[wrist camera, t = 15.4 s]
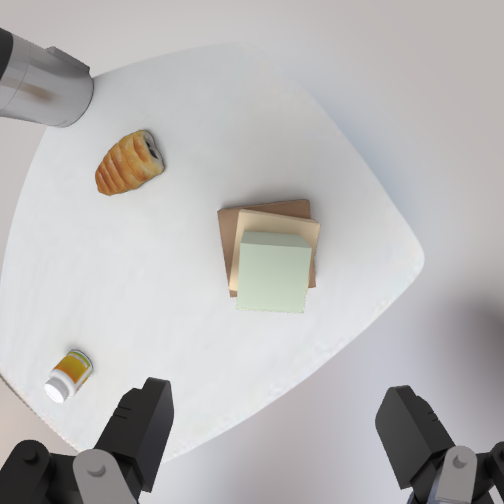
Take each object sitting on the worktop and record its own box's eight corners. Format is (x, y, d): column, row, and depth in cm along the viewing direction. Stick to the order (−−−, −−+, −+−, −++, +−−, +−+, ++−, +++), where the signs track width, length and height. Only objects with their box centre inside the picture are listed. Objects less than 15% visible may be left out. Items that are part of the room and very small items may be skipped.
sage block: (243, 230, 27) (240, 243, 21) (300, 234, 27) (311, 248, 21) (240, 284, 29) (236, 309, 23) (294, 287, 29) (303, 313, 23)
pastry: (113, 207, 34) (98, 210, 30) (93, 165, 32) (78, 164, 29) (170, 169, 32) (160, 167, 29) (148, 125, 31) (135, 119, 27)
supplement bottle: (66, 346, 39) (36, 375, 29) (90, 353, 39) (61, 386, 29) (72, 370, 40) (46, 400, 31) (96, 377, 40) (71, 411, 31)
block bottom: (221, 208, 34) (217, 211, 30) (303, 199, 33) (308, 200, 30) (232, 286, 36) (230, 297, 33) (310, 277, 36) (315, 287, 32)
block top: (241, 208, 30) (239, 211, 27) (313, 219, 30) (320, 224, 27) (231, 278, 32) (228, 289, 29) (300, 288, 32) (305, 299, 29)
